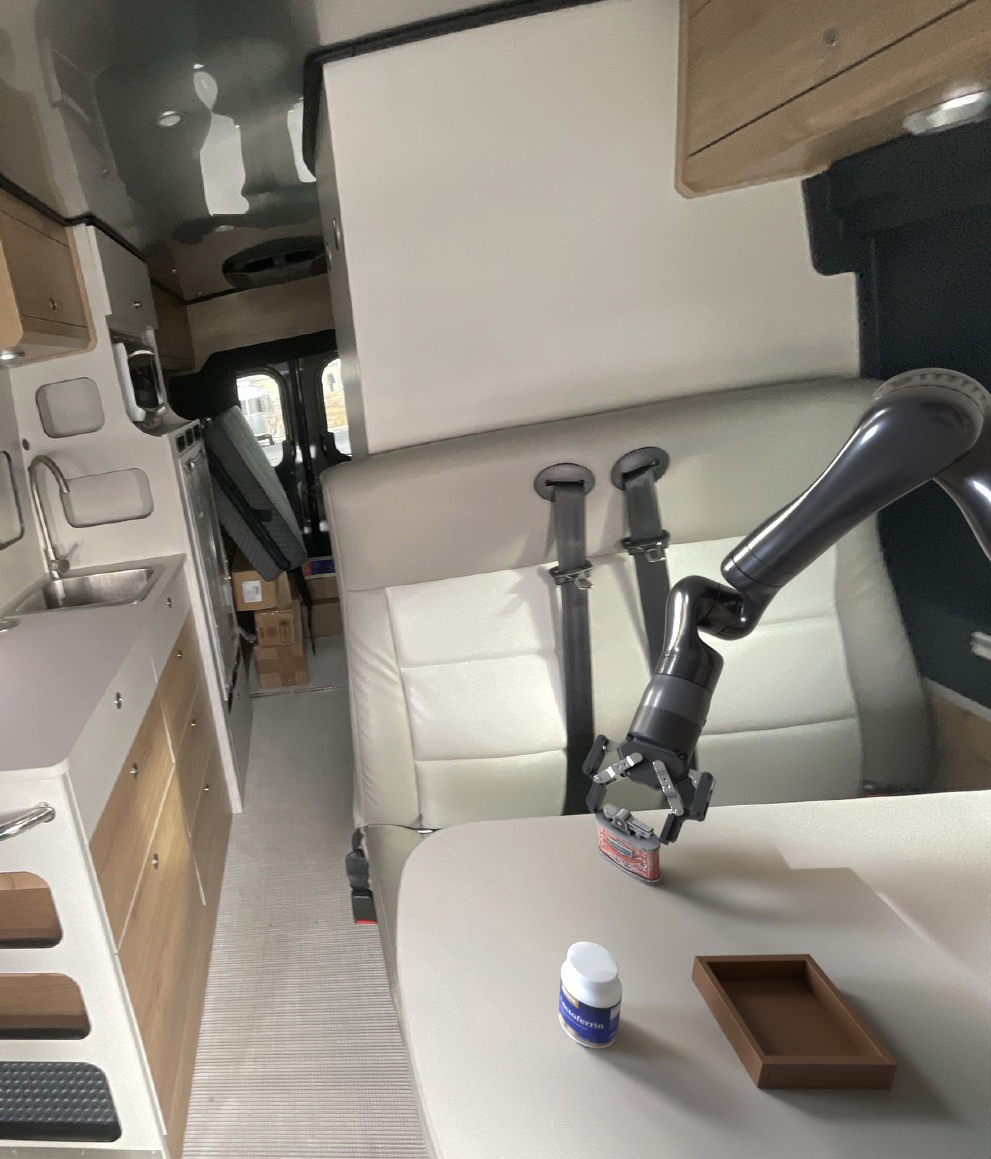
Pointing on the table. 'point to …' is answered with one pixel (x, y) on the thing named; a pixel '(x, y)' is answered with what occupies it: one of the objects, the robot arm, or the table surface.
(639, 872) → the lighter
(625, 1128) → the table surface
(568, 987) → the pill bottle
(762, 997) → the tray
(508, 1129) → the table surface
